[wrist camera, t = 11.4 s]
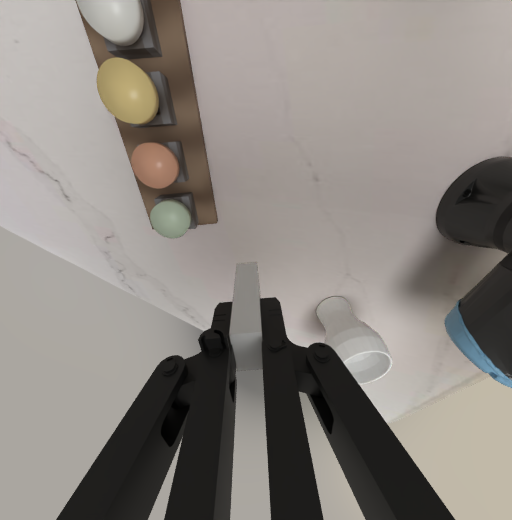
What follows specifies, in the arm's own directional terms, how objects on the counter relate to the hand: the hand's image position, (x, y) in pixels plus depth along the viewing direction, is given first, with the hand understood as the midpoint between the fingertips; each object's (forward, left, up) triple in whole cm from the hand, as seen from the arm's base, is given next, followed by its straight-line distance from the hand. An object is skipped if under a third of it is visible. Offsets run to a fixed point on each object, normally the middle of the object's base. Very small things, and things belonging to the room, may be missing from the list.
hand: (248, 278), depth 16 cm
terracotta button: (+8, -10, -21) cm, 25 cm away
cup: (-8, +31, -24) cm, 40 cm away
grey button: (+3, -23, -21) cm, 32 cm away
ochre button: (+5, -17, -19) cm, 26 cm away
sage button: (+10, -4, -21) cm, 24 cm away
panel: (+6, -14, -23) cm, 28 cm away
